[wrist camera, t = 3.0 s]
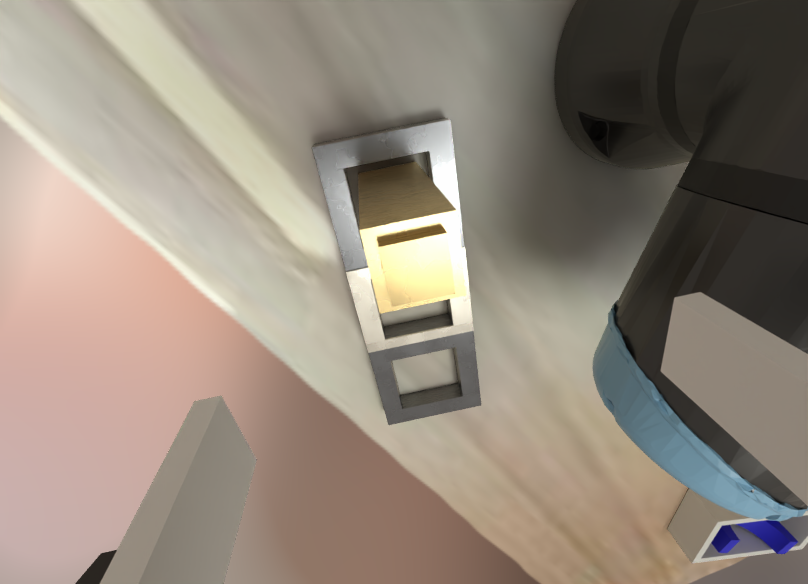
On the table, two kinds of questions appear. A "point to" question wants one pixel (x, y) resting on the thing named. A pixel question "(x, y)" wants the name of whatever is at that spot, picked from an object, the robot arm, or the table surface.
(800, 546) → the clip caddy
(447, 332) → the grey peg hole board
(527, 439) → the table surface
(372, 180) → the brass peg
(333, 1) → the table surface
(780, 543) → the blue arch block
